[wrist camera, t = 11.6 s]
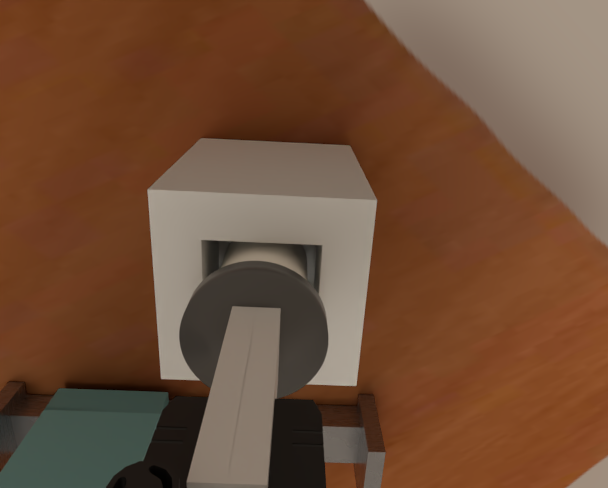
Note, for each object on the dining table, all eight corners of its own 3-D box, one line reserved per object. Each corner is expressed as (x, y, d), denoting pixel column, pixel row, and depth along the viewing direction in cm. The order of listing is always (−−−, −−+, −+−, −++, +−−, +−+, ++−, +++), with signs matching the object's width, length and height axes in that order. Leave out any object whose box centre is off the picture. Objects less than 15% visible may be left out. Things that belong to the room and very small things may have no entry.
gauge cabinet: (204, 272, 29) (161, 379, 20) (201, 138, 26) (147, 189, 17) (348, 279, 29) (370, 386, 20) (361, 146, 26) (394, 200, 17)
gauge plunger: (211, 309, 22) (182, 398, 17) (209, 208, 20) (175, 270, 15) (317, 314, 22) (323, 403, 17) (324, 214, 20) (333, 277, 15)
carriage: (69, 450, 34) (-15, 598, 25) (59, 388, 32) (-37, 525, 23) (172, 453, 34) (126, 601, 25) (168, 392, 32) (116, 529, 23)
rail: (21, 440, 34) (-23, 503, 29) (9, 381, 32) (-40, 438, 27) (365, 452, 35) (376, 514, 30) (373, 394, 33) (385, 452, 28)
